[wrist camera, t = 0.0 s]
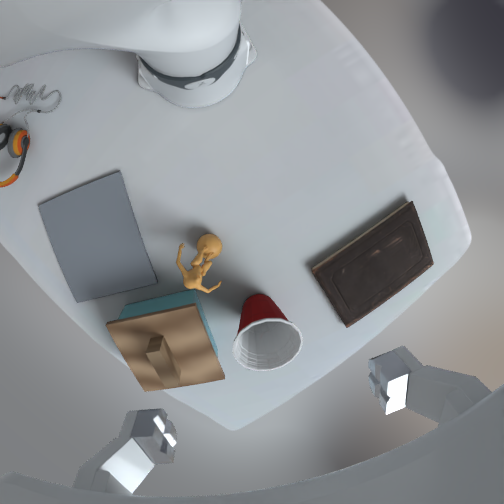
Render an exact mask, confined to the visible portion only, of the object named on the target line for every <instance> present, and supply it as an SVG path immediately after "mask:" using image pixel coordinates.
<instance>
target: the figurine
mask: <svg viewBox="0 0 504 504" xmlns="http://www.w3.org/2000/svg"><path fill="white" fill-rule="evenodd" d="M182 244H183V243H182ZM182 244H180V246H179V251H178V256H177V260H176V263H177V265H178V267H179V269H180V270H181V272H182V275H183V277H184V279H183V283H184V286H185V287H186V288H188V289H193V288H196V289H198V290H202V291H203V292H206V293H210V292H211V291H212V290H214V289H216V288H217V287H219V286H220V284H221V281H219V283H218V285H215V286H213V287H211V288H209V289H207V288H205V287H204V286H202V285H201V282H202V276H205V274H206V271H207V270H208V269H209V268H210V266H211V265H212V262H211V261H208V260H209V259H213V258H215V257H217V256H218V255H219V254H220V252H221V250H222V243H221V241H220V239H219V238H218V237H217V236H216V235H213V234H205V235H203V236H202V237H201V238H200V239H199V240H198V242H197V251H198V254H197V256H196V257H195V258H194V260H193V261H192V262H191V266H193V269H191V270H190V271H186V269H185V268H184V267H183V265H182V264H181V263H180V258H181V249H182V248H184V247H185V246H184V247H183V245H184V244H183V245H182ZM202 258H206V259H205V261H204V264H203V265H202V267H201V266H200V265H199V264H200V263H201V262H202Z"/></svg>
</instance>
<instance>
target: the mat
mask: <svg viewBox="0 0 504 504" xmlns="http://www.w3.org/2000/svg"><path fill="white" fill-rule="evenodd" d="M39 210H40V213H41V216H42V219H43V222H44V225H45V228H46V230H47V233H48V236H49V239H50V241H51V244H52V247H53V249H54V252H55V254H56V257H57V259H58V262H59V264H60V267H61V269H62V271H63V274H64V276H65V278H66V280H67V283H68V285H69V287H70V289H71V291H72V294H73V296H74V298H75V300H76V302H77V303H79V302H83V301H87V300H91V299H95V298H99V297H103V296H107V295H111V294H116V293H120V292H124V291H128V290H132V289H136V288H140V287H144V286H148V285H152V284H156V283H157V282H158V281H157V278H156V276H155V273H154V271H153V268H152V265H151V263H150V260H149V257H148V254H147V252H146V249H145V246H144V243H143V240H142V238H141V235H140V232H139V229H138V226H137V223H136V220H135V217H134V214H133V210H132V207H131V204H130V201H129V198H128V194H127V191H126V188H125V184H124V181H123V177H122V174H121V171H120V172H117V173H114V174H112V175H109V176H106V177H104V178H101V179H99V180H96V181H94V182H91V183H89V184H86V185H84V186H81V187H79V188H77V189H74V190H72V191H70V192H68V193H65V194H63V195H61V196H59V197H56V198H54V199H52V200H50V201H48V202H46V203H44V204H41V205H39Z"/></svg>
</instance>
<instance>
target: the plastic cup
mask: <svg viewBox="0 0 504 504" xmlns="http://www.w3.org/2000/svg"><path fill="white" fill-rule="evenodd" d="M302 344H303V338H302V334H301V331H300V330H299V329H298V328H297V327H296V326H295V325H294V324H293V323H292V322H290V321H288V319H287V318H286V317H285V315H284V314H283V313H282V311H281V310H280V309H279V307H278V306H277V305H276V304H275V303H274V301H273V300H272V299H271V298H270V297H268V296H266V295H264V294H256V295H253V296H251V297H249V298H248V299H247V300H246V301H245V303H244V305H243V309H242V313H241V318H240V324H239V330H238V334H237V337H236V338H235V340H234V342H233V352H232V353H233V355H234V357H235V359H236V361H237V362H238V363H239V364H241V365H242V366H243V367H245V368H247V369H251V370H255V371H271V370H274V369H277V368H280V367H283V366H285V365H286V364H288V363H289V362H291V361H292V360H293V359H294V358H295V357H296V356H297V355H298V353H299V352H300V351H301V347H302Z"/></svg>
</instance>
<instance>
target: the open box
mask: <svg viewBox="0 0 504 504" xmlns="http://www.w3.org/2000/svg"><path fill="white" fill-rule="evenodd" d="M192 303H196V305H197V307H198V310H199V313H200V315H201V318H202V321H203V323H204V326H205V328H206V331H207V333H208V336H209V338H210V341H211V343H212V346H213V348H214V351H215V353H216V356H217V358H218V349H217V346H216V344H215V341H214V339H213V336H212V334H211V331H210V328H209V326H208V323H207V320H206V318H205V315H204V312H203V310H202V307H201V304H200V302H199V299H198V296H197V293H196V290H195V289H192V290H188V291H184V292H180V293H175V294H171V295H167V296H163V297H159V298H154V299H150V300H146V301H141V302H137V303H133V304H128V305H125V307H124V309H123V311H122V313H121V315H120V317H119V318H118V320H119V319H124V318H129V317H134V316H138V315H143V314H147V313H152V312H157V311H161V310H166V309H170V308H174V307H179V306H183V305H187V304H192Z"/></svg>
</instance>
